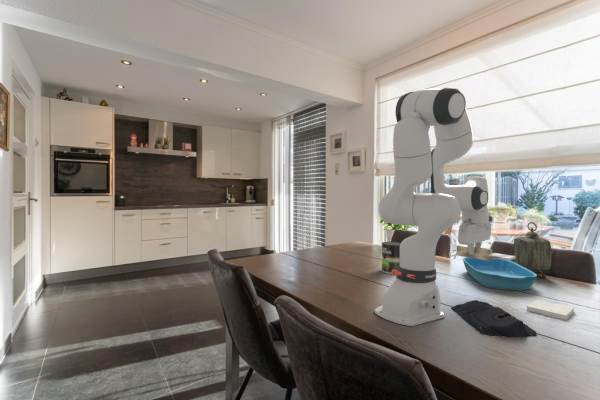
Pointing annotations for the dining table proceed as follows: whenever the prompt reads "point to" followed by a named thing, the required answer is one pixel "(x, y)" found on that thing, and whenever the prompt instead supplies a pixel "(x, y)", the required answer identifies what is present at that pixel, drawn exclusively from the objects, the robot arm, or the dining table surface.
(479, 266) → the casserole dish
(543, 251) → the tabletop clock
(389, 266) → the coffee can
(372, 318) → the dining table surface
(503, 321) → the black folded cloth
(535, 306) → the tile
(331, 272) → the dining table surface
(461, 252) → the turner
